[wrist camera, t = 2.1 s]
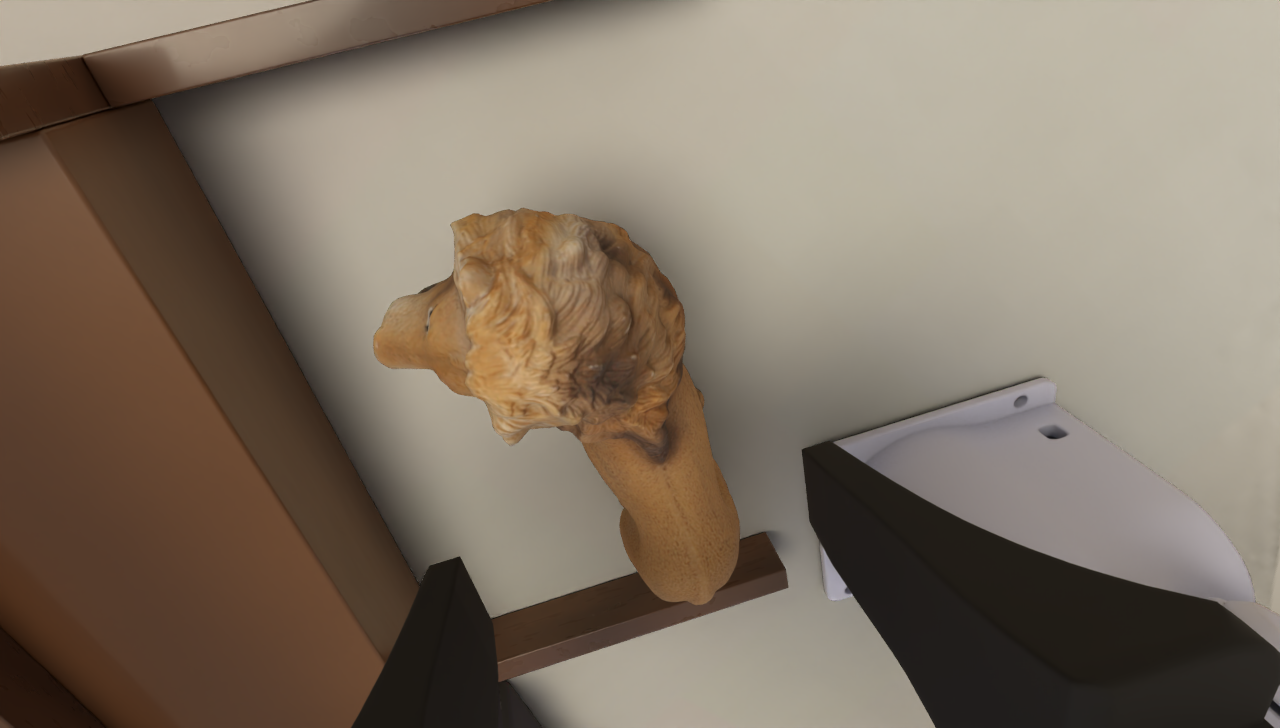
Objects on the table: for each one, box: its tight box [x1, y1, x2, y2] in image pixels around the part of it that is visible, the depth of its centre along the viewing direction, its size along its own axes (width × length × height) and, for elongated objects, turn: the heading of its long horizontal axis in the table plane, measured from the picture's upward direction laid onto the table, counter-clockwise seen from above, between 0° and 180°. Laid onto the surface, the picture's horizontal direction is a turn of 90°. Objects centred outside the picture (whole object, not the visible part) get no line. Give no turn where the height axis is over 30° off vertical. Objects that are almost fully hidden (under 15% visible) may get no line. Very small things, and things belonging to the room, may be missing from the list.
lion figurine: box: [373, 208, 740, 605], centre depth 17 cm, size 15×5×9 cm, turn 30°
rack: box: [0, 0, 788, 728], centre depth 18 cm, size 20×21×6 cm
